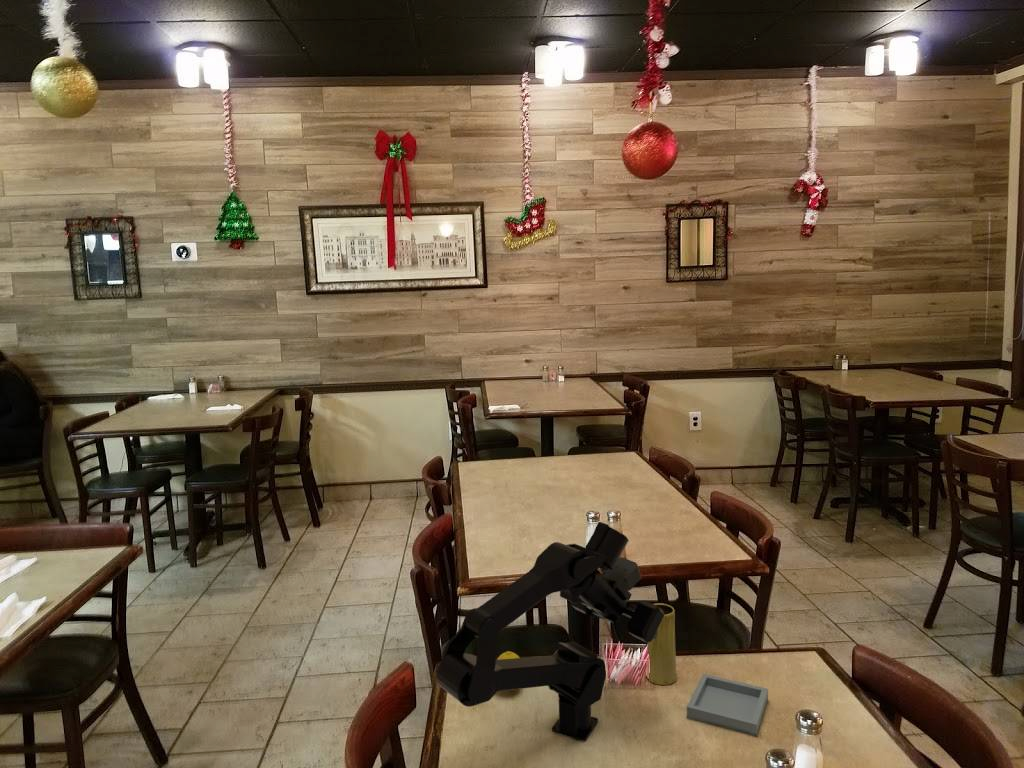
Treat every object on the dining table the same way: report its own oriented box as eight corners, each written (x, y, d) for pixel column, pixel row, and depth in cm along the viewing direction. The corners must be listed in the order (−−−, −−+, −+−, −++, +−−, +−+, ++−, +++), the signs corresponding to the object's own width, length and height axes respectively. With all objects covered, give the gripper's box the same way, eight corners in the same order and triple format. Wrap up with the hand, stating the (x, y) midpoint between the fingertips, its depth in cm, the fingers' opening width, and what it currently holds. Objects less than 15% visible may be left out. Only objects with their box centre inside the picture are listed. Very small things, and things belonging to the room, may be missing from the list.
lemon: (507, 679, 140) (506, 641, 139) (529, 688, 136) (528, 650, 135) (489, 692, 135) (488, 653, 134) (511, 701, 132) (510, 662, 131)
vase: (650, 666, 143) (649, 600, 141) (680, 672, 140) (680, 605, 138) (641, 681, 137) (641, 613, 135) (672, 688, 135) (672, 618, 133)
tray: (756, 736, 119) (756, 724, 119) (686, 718, 125) (686, 706, 125) (767, 699, 130) (768, 688, 130) (702, 684, 136) (703, 673, 135)
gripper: (657, 564, 120) (695, 605, 128) (579, 537, 134) (619, 575, 142) (626, 623, 116) (669, 661, 124) (550, 588, 130) (593, 624, 138)
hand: (636, 627), depth 132 cm, fingers open, 9 cm apart
